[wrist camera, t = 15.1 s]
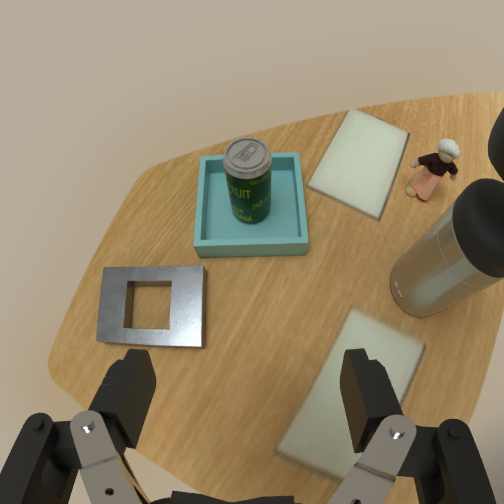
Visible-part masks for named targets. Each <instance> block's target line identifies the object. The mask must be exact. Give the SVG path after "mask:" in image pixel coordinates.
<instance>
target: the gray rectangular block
mask: <svg viewBox="0 0 504 504" xmlns="http://www.w3.org/2000/svg"><path fill="white" fill-rule="evenodd" d="M206 275H207V272H206V270H205V268H204V266H158V267H104V269H103V277H102V285H101V293H100V302H99V313H98V324H97V338H96V341H99V342H102V343H108V344H121V345H135V346H152V347H175V348H205V311H206ZM134 286H172V290H171V308H170V330H156V329H132V328H131V323H132V309H133V296H134Z"/></svg>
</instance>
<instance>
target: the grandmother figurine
mask: <svg viewBox="0 0 504 504" xmlns="http://www.w3.org/2000/svg"><path fill="white" fill-rule="evenodd" d="M438 149H439V151H438V153H432V154H429V155H425V156H422V157H419V158H418V159H416V160H415V161H413V162H411V167H412V168H416V167H417V166H420V165H424V166H425V167H424V168H423V169H422V170H421V171H420V172H419V173H418V174H417V175H416V176H415V177H414V179H413V180H412V181H411V183H409V184H408V185H407V187H406V190H405V191H406V194H407V195H409V196H410V197H415V196H416V194H418V196H419V197H420V198H421V199H423V200H426V201H427V200H429V199H430V195H431V193H432V191H433V190H434V188H435V186H436V185H437V183H438V182H439V181H440V179H441V178H442V177H443V176H444V174H445V173H446V172H447V171H448V172H449V173H450V174H451V175H450V178H451V179H452V180H456V175H457V172H458V169H457V167H456V165H455V164H454V163H453V162H452V161H453V160H454V159H457V158H459V156H460V150H459V147H458V145H457V144H456V143H455V141H454V140H452V139H447V138H445V139H443V140H441V141H440V143H439V145H438Z"/></svg>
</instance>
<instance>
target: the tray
mask: <svg viewBox="0 0 504 504" xmlns="http://www.w3.org/2000/svg"><path fill="white" fill-rule="evenodd" d="M270 154H271V157H272V175H271V207H270V211H269V213H268V215H267V216H266V217H265V218H264V219H263V220H261V221H259V222H257V223H252V224H251V223H245V222H243V221H240V220H239V219H238V218H236V217H235V215H234V214H233V212H232V207H231V202H230V197H229V192H228V187H227V181H226V176H225V171H224V165H223V157H224V155H214V156H201V159H200V169H199V180H198V192H197V205H196V218H195V232H194V248H195V250H196V252H197V254H198V255H199V257H200V258H215V257H252V256H287V255H305V253H306V250H307V247H308V243H309V242H308V231H307V221H306V211H305V201H304V192H303V183H302V174H301V166H300V158H299V153H270Z"/></svg>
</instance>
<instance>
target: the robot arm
mask: <svg viewBox="0 0 504 504" xmlns="http://www.w3.org/2000/svg"><path fill="white" fill-rule="evenodd" d="M488 156H489V159H490V161H491V163H492V165H493V167H494V168H495V170H496V171H497V173H498V174H499V176H500V177H501V178H502V179H503V181H504V108H503V109H502V111H501V113H500V114H499V116H498V118H497V120H496V122H495V124H494V126H493V128H492V131H491V134H490V137H489V141H488ZM503 278H504V183H503V182H500V181H498V180H494V179H488V178H484V179H479V180H476V181H474V182H473V183H471V184H470V185H469V186H467V187H466V189H465V190H464V191H463V192H462V193H461V194H460V195H459V197H458V198H457V199H456V200H455V201H454V202H453V203H452V204H451V206H450V207H449V208H448V209H447V210H446V211H445V212H444V214H443V215H442V216H441V217H440V218H439V219H438V220H437V221H436V222H435V223H434V224H433V225H432V227H431V228H430V229H429V230H428V231H427V232H426V233H425V234H424V235H423V236H422V237H421V238H420V239H419V240H418V241H417V242H416V243H415V244H414V245H413V246H412V247H411V248H410V249H409V250H408V251H407V252H406V254H405V255H404V256H403V257H402V258H401V259H400V260H398V261H397V263H396V264H395V266H394V267H393V270H392V272H391V278H390V287H391V291H392V295H393V297H394V299H395V301H396V302H397V304H398V305H399V307H400V308H401V309H402V310H403V311H405V312H406V313H408V314H409V315H412V316H415V317H427V316H430V315H432V314H435V313H437V312H439V311H441V310H443V309H446V308H448V307H450V306H452V305H454V304H456V303H458V302H460V301H462V300H464V299H466V298H468V297H470V296H472V295H474V294H476V293H478V292H480V291H482V290H483V289H485V288H487V287H489V286H491V285H492V284H494V283H496V282H498V281H500V280H502V279H503ZM391 385H392V384H391V382H390V379H389V378H388V374H387V372H386V370H385V367H384V366H383V365H382V364H381V363H380V362H379V361H377V360H369V359H368V356H367V354H366V351H365V349H364V348H361V349H349V350H345V353H344V359H343V364H342V369H341V375H340V390H341V394H342V399H343V403H344V407H345V412H346V416H347V421H348V425H349V430H350V434H351V439H352V443H353V448H354V453H361V452H363V454H362V456H361V457H360V459H359V460H358V462H357V463H356V464H355V465H354V466H353V467H352V469H351V470H350V472H349V473H348V475H347V476H346V478H345V479H344V480H343V482H342V483H341V485H340V486H339V488H338V489H337V490H336V492H335V493H334V495H333V496H332V497H331V499H330V500H329V501H328V503H327V504H383V502H384V501H385V499H386V497H387V495H388V494H389V492H390V490H391V488H392V486H393V484H394V482H395V480H396V479H395V478H396V476H404V477H414V481H415V485H416V490H417V495H418V500H419V504H496V501H495V497H494V495H493V491H492V488H491V485H490V482H489V479H488V476H487V473H486V470H485V468H484V465H483V462H482V459H481V457H480V454H479V451H478V449H477V446H476V444H475V442H474V439H473V436H472V434H471V431H470V429H469V427H468V426H467V425H466V424H465V423H464V422H463V421H461V420H458V419H448V420H445V421H444V422H442V423H441V424H440V426H439V427H438V428H437V427H422V426H417V425H415V424H414V422H413V421H412V420H411V419H409V418H408V417H406V416H404V415H403V413H402V410H401V407H400V405H399V402H398V400H397V397H396V394H395V392H394V389H393V387H392V386H391ZM155 389H156V376H155V372H154V369H153V366H152V362H151V359H150V356H149V353H148V351H147V350H141V349H129V350H128V351H127V353H126V355H125V357H124V359H123V360H119V359H118V360H117V361H116V362H115V363H114V364H113V365H111V366H110V368H109V370H108V371H107V373H106V375H105V377H104V379H103V381H102V385H100V387H99V389H98V391H97V393H96V395H95V397H94V399H93V401H92V403H91V405H90V407H89V409H88V410H87V411H82V412H80V413H78V414H77V415H75V416H74V417H73V419H72V421H60V422H53V420H52V419H51V417H50V416H49V415H47V414H45V413H36V414H33V415H31V416H30V417H29V418H28V419H27V420H26V422H25V424H24V425H23V428H22V429H21V431H20V433H19V435H18V437H17V439H16V441H15V443H14V445H13V447H12V449H11V452H10V454H9V456H8V458H7V460H6V463H5V465H4V467H3V469H2V471H1V473H0V504H68V502H69V499H70V495H71V492H72V489H73V486H74V483H75V479H76V476H77V473H78V470H79V469H80V474H81V477H82V480H83V483H84V485H85V488H86V491H87V493H88V496H89V499H90V501H91V503H92V504H301V503H296V502H294V496H274V497H259V498H254V499H249V500H244V501H239V502H227V501H223V500H219V499H216V498H213V497H209V496H206V495H203V494H196V493H187V492H178V491H172V495H171V497H169V498H163V499H159V500H155V501H153V502H150V501H149V499H148V498H147V496H146V494H145V493H144V491H143V490H142V488H141V486H140V484H139V483H138V481H137V479H136V477H135V475H134V473H133V471H132V469H131V467H130V465H129V463H128V461H127V459H126V457H125V455H124V452H125V449H126V447H128V448H133V449H136V446H137V443H138V440H139V437H140V433H141V430H142V427H143V424H144V421H145V418H146V415H147V412H148V409H149V406H150V403H151V401H152V398H153V395H154V392H155Z"/></svg>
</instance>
